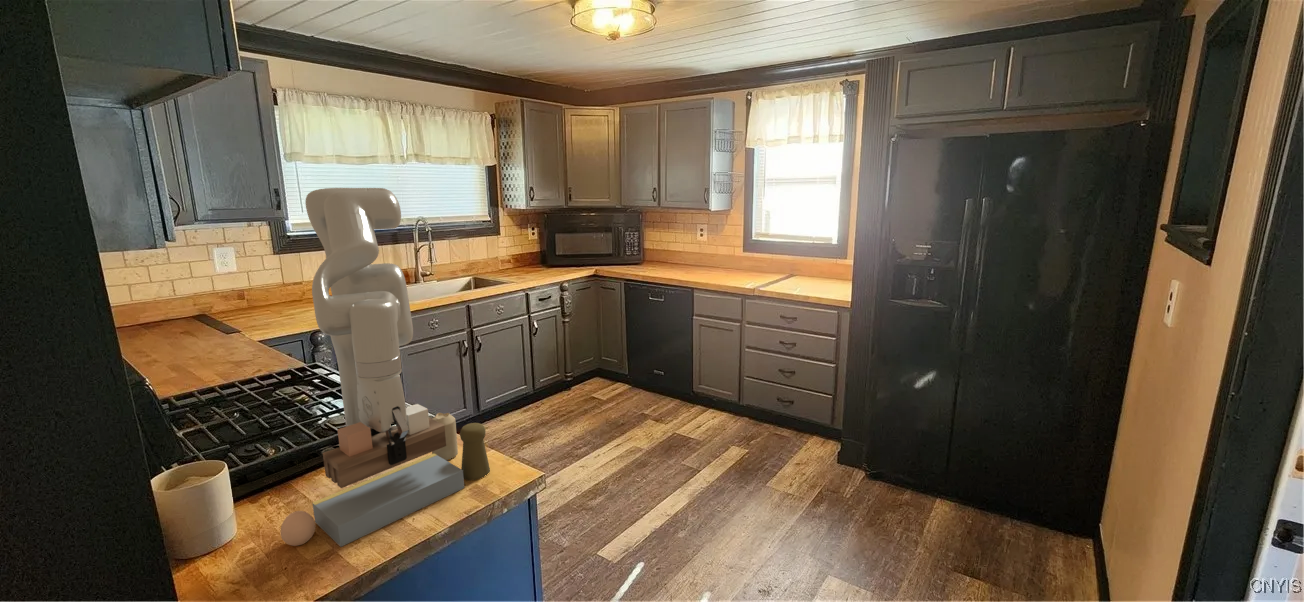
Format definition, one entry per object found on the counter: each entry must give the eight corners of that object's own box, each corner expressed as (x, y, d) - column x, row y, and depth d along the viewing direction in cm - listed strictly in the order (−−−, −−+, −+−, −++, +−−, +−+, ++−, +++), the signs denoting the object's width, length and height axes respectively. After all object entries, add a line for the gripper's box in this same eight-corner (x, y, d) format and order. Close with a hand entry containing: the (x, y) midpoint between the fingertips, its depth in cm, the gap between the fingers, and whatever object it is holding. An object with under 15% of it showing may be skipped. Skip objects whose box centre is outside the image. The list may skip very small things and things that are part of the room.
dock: (315, 522, 102) (312, 502, 101) (435, 470, 120) (434, 453, 119) (340, 546, 95) (337, 526, 94) (464, 487, 113) (462, 470, 112)
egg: (310, 530, 100) (306, 500, 98) (322, 541, 96) (317, 511, 95) (278, 544, 96) (273, 513, 94) (289, 556, 93) (284, 525, 91)
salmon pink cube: (340, 449, 100) (337, 429, 99) (362, 441, 103) (360, 422, 102) (349, 456, 97) (347, 435, 97) (372, 448, 100) (370, 428, 100)
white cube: (399, 429, 108) (397, 410, 107) (419, 422, 111) (417, 403, 110) (410, 434, 106) (408, 415, 105) (429, 427, 109) (427, 408, 108)
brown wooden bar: (325, 475, 100) (322, 453, 99) (429, 436, 115) (427, 416, 114) (341, 488, 96) (338, 464, 95) (446, 446, 111) (444, 425, 110)
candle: (428, 455, 126) (424, 414, 124) (450, 447, 130) (447, 407, 128) (439, 463, 123) (435, 422, 121) (462, 455, 127) (459, 414, 124)
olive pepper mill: (472, 483, 115) (468, 434, 113) (455, 473, 119) (451, 426, 116) (496, 471, 120) (493, 424, 117) (479, 462, 123) (475, 417, 121)
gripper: (337, 362, 104) (348, 449, 108) (380, 382, 93) (391, 479, 97) (377, 352, 109) (386, 436, 113) (422, 371, 99) (431, 462, 103)
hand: (388, 455), depth 105 cm, fingers closed on brown wooden bar, 6 cm apart
